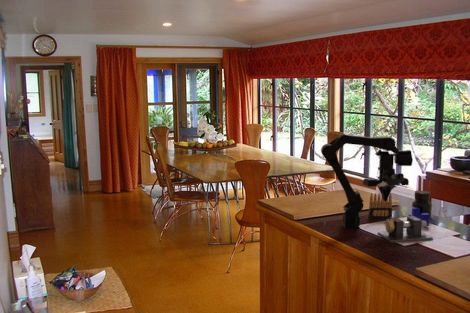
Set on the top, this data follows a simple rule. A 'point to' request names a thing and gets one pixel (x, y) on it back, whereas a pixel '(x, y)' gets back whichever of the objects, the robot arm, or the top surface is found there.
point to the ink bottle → (422, 202)
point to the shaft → (391, 227)
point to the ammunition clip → (380, 208)
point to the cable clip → (417, 214)
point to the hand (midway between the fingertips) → (385, 201)
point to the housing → (406, 231)
